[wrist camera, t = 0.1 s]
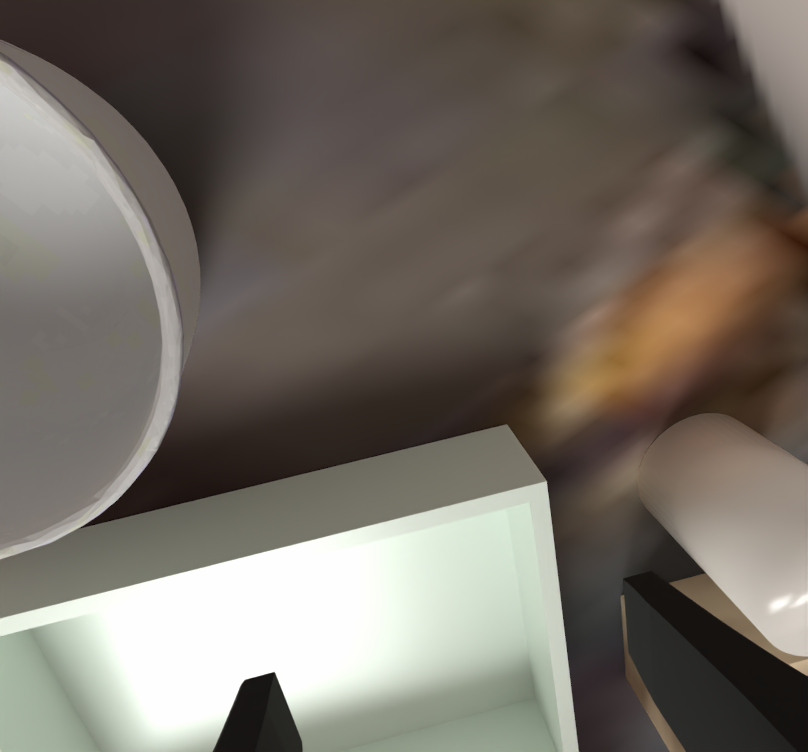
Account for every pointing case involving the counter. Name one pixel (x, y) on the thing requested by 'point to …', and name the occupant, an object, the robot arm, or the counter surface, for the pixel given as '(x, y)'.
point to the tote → (303, 613)
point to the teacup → (83, 302)
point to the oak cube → (723, 609)
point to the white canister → (736, 517)
